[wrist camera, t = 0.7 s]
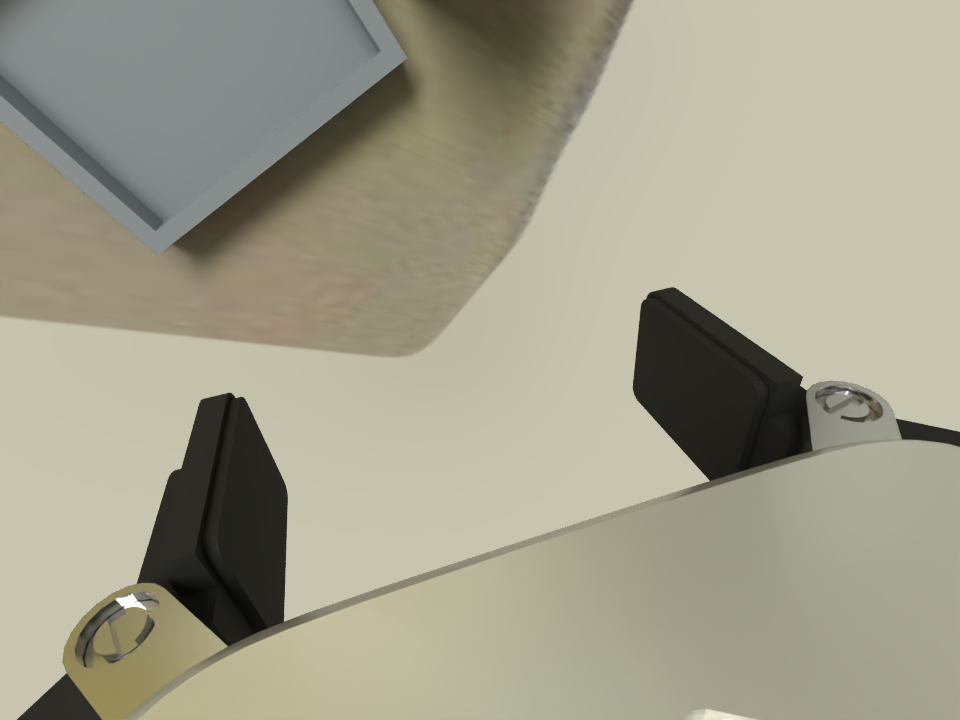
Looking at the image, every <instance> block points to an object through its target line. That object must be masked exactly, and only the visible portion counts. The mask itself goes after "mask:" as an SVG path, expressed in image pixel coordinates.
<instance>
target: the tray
mask: <svg viewBox="0 0 960 720" xmlns="http://www.w3.org/2000/svg"><path fill="white" fill-rule="evenodd" d="M406 59H407V57H406V55H405V53H404V52H403V50H402V48H401V47H400V45H399V43H398V42H397V40H396V39H395V37H394V35H393V34H392V32H391V30H390V29H389V27H388V25H387V24H386V22H385V20H384V19H383V17H382V15H381V14H380V12H379V11H378V9H377V7H376V6H375V4H374V2H373V1H372V0H0V122H1V123H2V124H3V125H5V126H6V127H7V128H8V129H9V130H11V131H12V132H13V133H14V134H15V135H16V136H18V137H19V138H20V139H21V140H22V141H24V142H25V143H26V144H27V145H28V146H29V147H31V148H32V149H33V150H34V151H35V152H37V153H38V154H39V155H40V156H41V157H42V158H44V159H45V160H46V161H47V162H48V163H50V164H51V165H52V166H53V167H54V168H55V169H57V170H58V171H59V172H60V173H61V174H63V175H64V176H65V177H66V178H67V179H68V180H70V181H71V182H72V183H73V184H74V185H76V186H77V187H78V188H79V189H80V190H81V191H83V192H84V193H85V194H86V195H87V196H89V197H90V198H91V199H92V200H93V201H94V202H96V203H97V204H98V205H99V206H100V207H101V208H103V209H104V210H105V211H106V212H107V213H109V214H110V215H111V216H112V217H113V218H114V219H116V220H117V221H118V222H119V223H120V224H122V225H123V226H124V227H125V228H126V229H127V230H129V231H130V232H131V233H132V234H133V235H135V236H136V237H137V238H138V239H139V240H140V241H142V242H143V243H144V244H145V245H146V246H148V247H149V248H150V249H151V250H152V251H153V252H155V253H156V254H157V255H159V254H160V253H162V252H163V251H164V250H165V249H167V248H168V247H169V246H170V245H172V244H173V243H174V242H175V241H177V240H178V239H179V238H180V237H182V236H183V235H184V234H186V233H187V232H188V231H189V230H191V229H192V228H193V227H194V226H196V225H197V224H198V223H199V222H201V221H202V220H203V219H205V218H206V217H207V216H208V215H210V214H211V213H212V212H213V211H215V210H216V209H217V208H218V207H220V206H221V205H222V204H224V203H225V202H226V201H227V200H229V199H230V198H231V197H232V196H234V195H235V194H236V193H237V192H239V191H240V190H241V189H243V188H244V187H245V186H246V185H248V184H249V183H250V182H251V181H253V180H254V179H255V178H256V177H258V176H259V175H260V174H261V173H263V172H264V171H265V170H267V169H268V168H269V167H270V166H272V165H273V164H274V163H275V162H277V161H278V160H279V159H280V158H282V157H283V156H284V155H286V154H287V153H288V152H289V151H291V150H292V149H293V148H294V147H296V146H297V145H298V144H299V143H301V142H302V141H303V140H305V139H306V138H307V137H308V136H310V135H311V134H312V133H313V132H315V131H316V130H317V129H318V128H320V127H321V126H322V125H324V124H325V123H326V122H327V121H329V120H330V119H331V118H332V117H334V116H335V115H336V114H337V113H339V112H340V111H341V110H342V109H344V108H345V107H346V106H348V105H349V104H350V103H351V102H353V101H354V100H355V99H356V98H358V97H359V96H360V95H361V94H363V93H364V92H365V91H367V90H368V89H369V88H370V87H372V86H373V85H374V84H375V83H377V82H378V81H379V80H380V79H382V78H383V77H384V76H386V75H387V74H388V73H389V72H391V71H392V70H393V69H394V68H396V67H397V66H398V65H399V64H401V63H402V62H403V61H405V60H406Z"/></svg>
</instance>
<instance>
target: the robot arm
mask: <svg viewBox="0 0 960 720" xmlns="http://www.w3.org/2000/svg"><path fill="white" fill-rule="evenodd" d="M635 361H636V362H635V370H634V380H633V391H634V395H635V397H636V399H637V400H638V401H639V403H640V404H641V405H642V406H643V407H644V408H645V409H646V410H647V411H648V413H649V414H650V415H651V416H652V417H653V418H654V419H655V420H656V421H657V423H658V424H659V425H660V426H661V427H662V428H663V429H664V430H665V431H666V433H667V434H668V435H669V436H670V437H671V438H672V439H673V440H674V441H675V443H676V444H678V446H679V447H680V448H681V449H682V450H683V451H684V452H685V454H686V455H687V456H688V457H689V458H690V459H691V460H692V461H693V463H695V465H696V466H697V467H698V468H699V469H700V470H701V471H702V473H703V474H704V475H706V477H707V478H708V479H709V480H710V481H709V482H706V483H703V484H699V485H697V486H693V487H690V488H687V489H684V490H680V491H677V492H674V493H671V494H668V495H665V496H661V497H658V498H655V499H652V500H649V501H646V502H642V503H640V504H637V505H633V506H630V507H627V508H624V509H621V510H618V511H615V512H611V513H608V514H605V515H602V516H599V517H596V518H593V519H589V520H587V521H583V522H580V523H577V524H574V525H571V526H568V527H565V528H562V529H558V530H555V531H552V532H549V533H546V534H543V535H540V536H537V537H534V538H531V539H528V540H524V541H521V542H518V543H515V544H512V545H509V546H506V547H503V548H500V549H497V550H494V551H491V552H487V553H484V554H482V555H479V556H475V557H472V558H469V559H466V560H463V561H460V562H457V563H454V564H451V565H448V566H445V567H442V568H439V569H436V570H433V571H430V572H427V573H423V574H421V575H418V576H414V577H411V578H408V579H405V580H402V581H399V582H396V583H393V584H390V585H387V586H384V587H381V588H378V589H375V590H373V591H370V592H367V593H364V594H361V595H358V596H355V597H352V598H349V599H347V600H343V601H341V602H338V603H335V604H332V605H329V606H326V607H323V608H321V609H317V610H314V611H312V612H309V613H306V614H304V615H301V616H298V617H296V618H293V619H290V620H288V621H285V622H284V597H285V568H286V537H287V533H286V532H287V505H288V495H287V489H286V485H285V483H284V480H283V478H282V476H281V474H280V472H279V470H278V468H277V465H276V463H275V461H274V459H273V457H272V455H271V453H270V450H269V448H268V446H267V444H266V442H265V440H264V438H263V436H262V433H261V431H260V429H259V428H258V425H257V423H256V421H255V419H254V416H253V414H252V412H251V410H250V408H249V406H248V404H247V402H246V400H245V399H244V398H243V397H239V398H235V396H234V395H233V394H232V393H227V394H222V395H219V396H214V397H210V398H205V399H202V400H201V402H200V403H199V407H198V410H197V414H196V418H195V421H194V425H193V429H192V432H191V436H190V439H189V443H188V447H187V450H186V454H185V458H184V461H183V465H182V468H181V469H178V470H175V471H173V472H172V473H171V475H170V476H169V479H168V481H167V485H166V488H165V491H164V495H163V498H162V501H161V505H160V508H159V511H158V515H157V518H156V521H155V525H154V528H153V532H152V535H151V538H150V542H149V545H148V548H147V552H146V555H145V558H144V562H143V565H142V568H141V572H140V575H139V578H138V582H137V584H135V585H131V586H128V587H125V588H123V589H121V590H119V591H116V592H114V593H112V594H111V595H109V596H108V597H106V598H105V599H103V600H102V601H100V602H99V603H98V604H96V605H95V606H94V607H93V608H92V609H91V610H90V611H89V612H88V613H87V614H86V615H85V616H83V617H82V619H81V620H80V621H79V623H78V624H77V625H76V627H75V628H74V629H73V631H72V632H71V634H70V636H69V638H68V641H67V643H66V645H65V647H64V653H63V664H64V667H65V670H66V672H67V673H66V674H65V675H64V676H63V677H62V678H61V679H60V680H59V681H58V682H57V683H56V684H55V685H54V686H52V687H51V688H50V689H49V690H48V691H47V692H46V693H45V694H44V695H43V696H42V697H41V698H40V699H38V701H36V702H35V703H34V704H33V705H32V706H31V707H30V708H29V709H28V710H27V711H26V712H25V713H24V714H23V715H21V716H20V717H19V718H18V719H17V720H960V432H958V431H953V430H948V429H943V428H939V427H934V426H928V425H924V424H919V423H914V422H910V421H905V420H899V419H895V416H894V413H893V410H892V408H891V407H890V405H889V403H888V402H887V401H886V400H885V399H883V398H882V397H881V396H880V395H878V394H876V393H875V392H873V391H871V390H870V389H867V388H864V387H861V386H859V385H856V384H852V383H847V382H841V381H825V382H819V383H816V384H814V385H812V386H811V387H810V388H809V389H808V390H805V389H804V388H803V387H801V386H800V384H801V381H802V378H803V377H802V376H801V375H800V374H798V373H797V372H795V371H794V370H793V369H791V368H790V367H788V366H787V365H785V364H784V363H783V362H781V361H780V360H778V359H777V358H775V357H774V356H773V355H771V354H770V353H768V352H767V351H765V350H764V349H762V348H761V347H760V346H758V345H757V344H755V343H754V342H752V341H751V340H750V339H748V338H747V337H745V336H744V335H742V334H741V333H739V332H738V331H737V330H735V329H733V328H732V327H730V326H729V325H728V324H727V323H725V322H724V321H722V320H721V319H719V318H718V317H716V316H715V315H714V314H712V313H711V312H709V311H708V310H706V309H705V308H703V307H702V306H701V305H699V304H698V303H696V302H694V301H693V300H692V299H691V298H689V297H688V296H686V295H685V294H683V293H682V292H680V291H679V290H677V289H676V288H674V287H673V288H666V289H663V290H658V291H654V292H651V293H649V294H648V296H647V298H646V300H644V301H643V302H642V304H641V311H640V321H639V331H638V341H637V351H636V360H635Z"/></svg>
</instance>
